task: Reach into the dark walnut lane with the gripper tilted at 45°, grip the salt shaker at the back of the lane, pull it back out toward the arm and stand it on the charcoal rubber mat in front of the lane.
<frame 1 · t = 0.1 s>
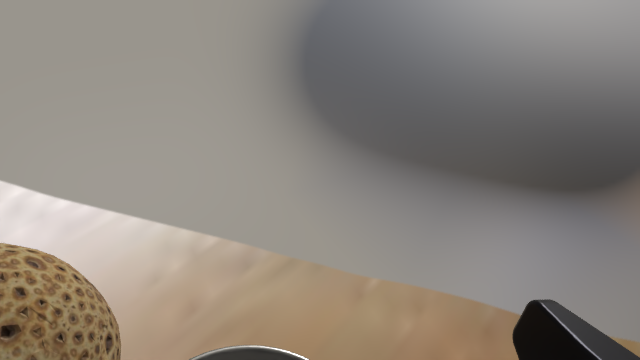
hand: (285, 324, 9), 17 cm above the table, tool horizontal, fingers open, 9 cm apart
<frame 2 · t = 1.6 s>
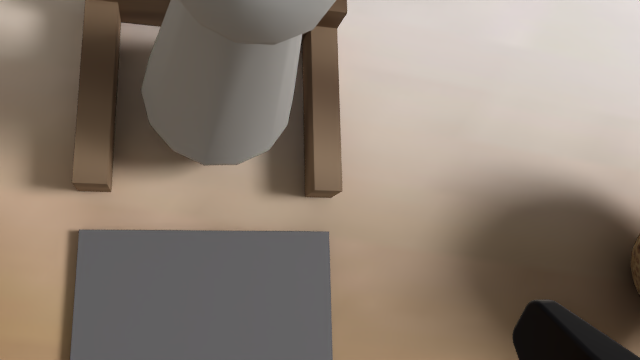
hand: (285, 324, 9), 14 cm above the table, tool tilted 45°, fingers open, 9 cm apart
charcoal mat: (209, 358, 21), on the table
salt shaker: (213, 114, 23), on the table
walnut lane: (214, 112, 23), on the table
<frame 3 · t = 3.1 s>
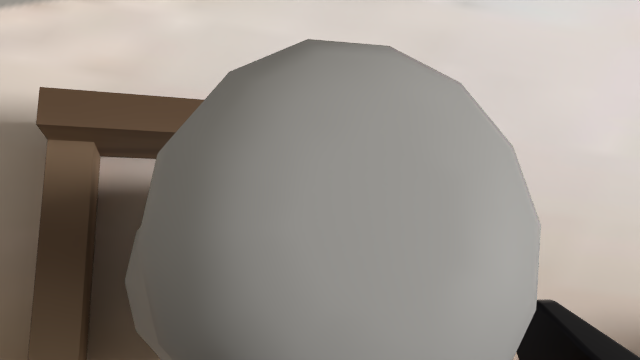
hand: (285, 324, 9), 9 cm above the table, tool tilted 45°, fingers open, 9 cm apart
salt shaker: (226, 278, 17), on the table
walnut lane: (227, 277, 17), on the table
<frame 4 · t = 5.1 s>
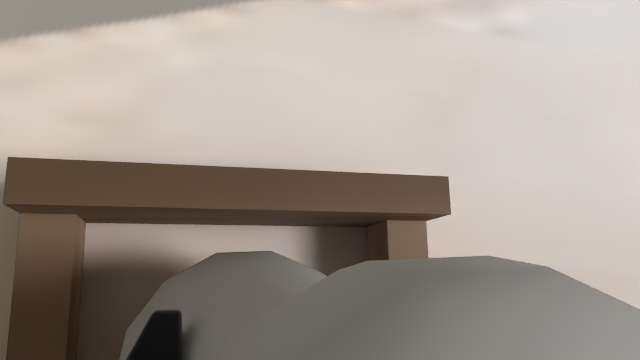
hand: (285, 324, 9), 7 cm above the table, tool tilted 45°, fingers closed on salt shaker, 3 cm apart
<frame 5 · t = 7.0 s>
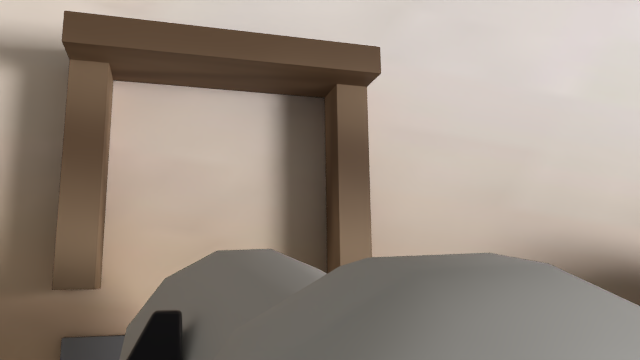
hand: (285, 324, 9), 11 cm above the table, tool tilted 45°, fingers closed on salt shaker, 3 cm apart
walnut lane: (222, 187, 20), on the table
when the fingers open (7 cm above the table, at t = 9.4 s): salt shaker stays where it is, resting on charcoal mat.
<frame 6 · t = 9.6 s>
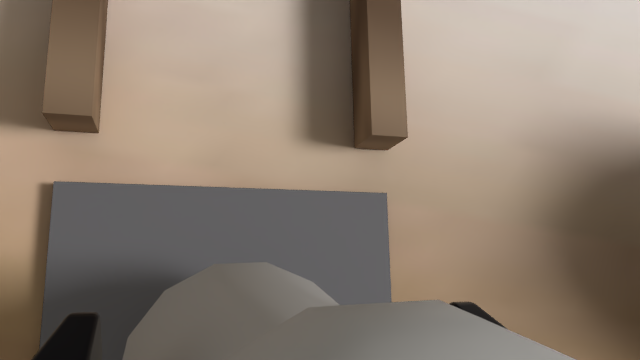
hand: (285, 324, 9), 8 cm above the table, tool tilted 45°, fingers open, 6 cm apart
charcoal mat: (230, 358, 15), on the table
walnut lane: (236, 35, 17), on the table
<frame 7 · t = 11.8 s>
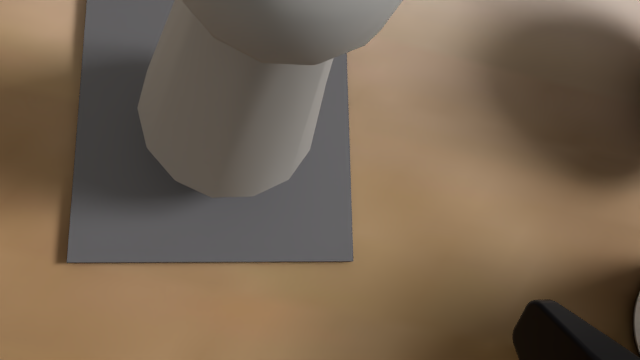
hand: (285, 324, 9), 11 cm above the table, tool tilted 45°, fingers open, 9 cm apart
charcoal mat: (222, 129, 20), on the table
salt shaker: (222, 134, 20), resting on charcoal mat
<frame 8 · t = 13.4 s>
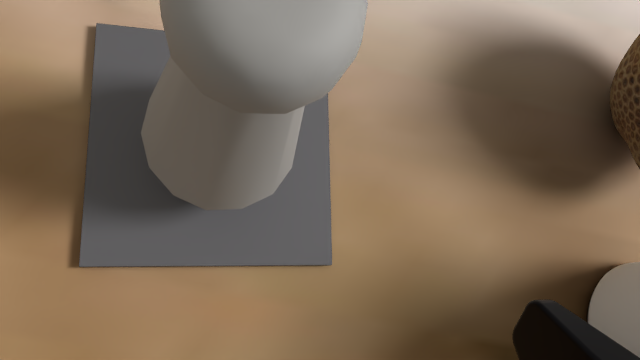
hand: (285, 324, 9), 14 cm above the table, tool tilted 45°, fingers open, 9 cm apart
charcoal mat: (215, 147, 23), on the table
salt shaker: (215, 152, 23), resting on charcoal mat
natural sponge: (628, 119, 30), on the table
can: (631, 327, 27), on the table
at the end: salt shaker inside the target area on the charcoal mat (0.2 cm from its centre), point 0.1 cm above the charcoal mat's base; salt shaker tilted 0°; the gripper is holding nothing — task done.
